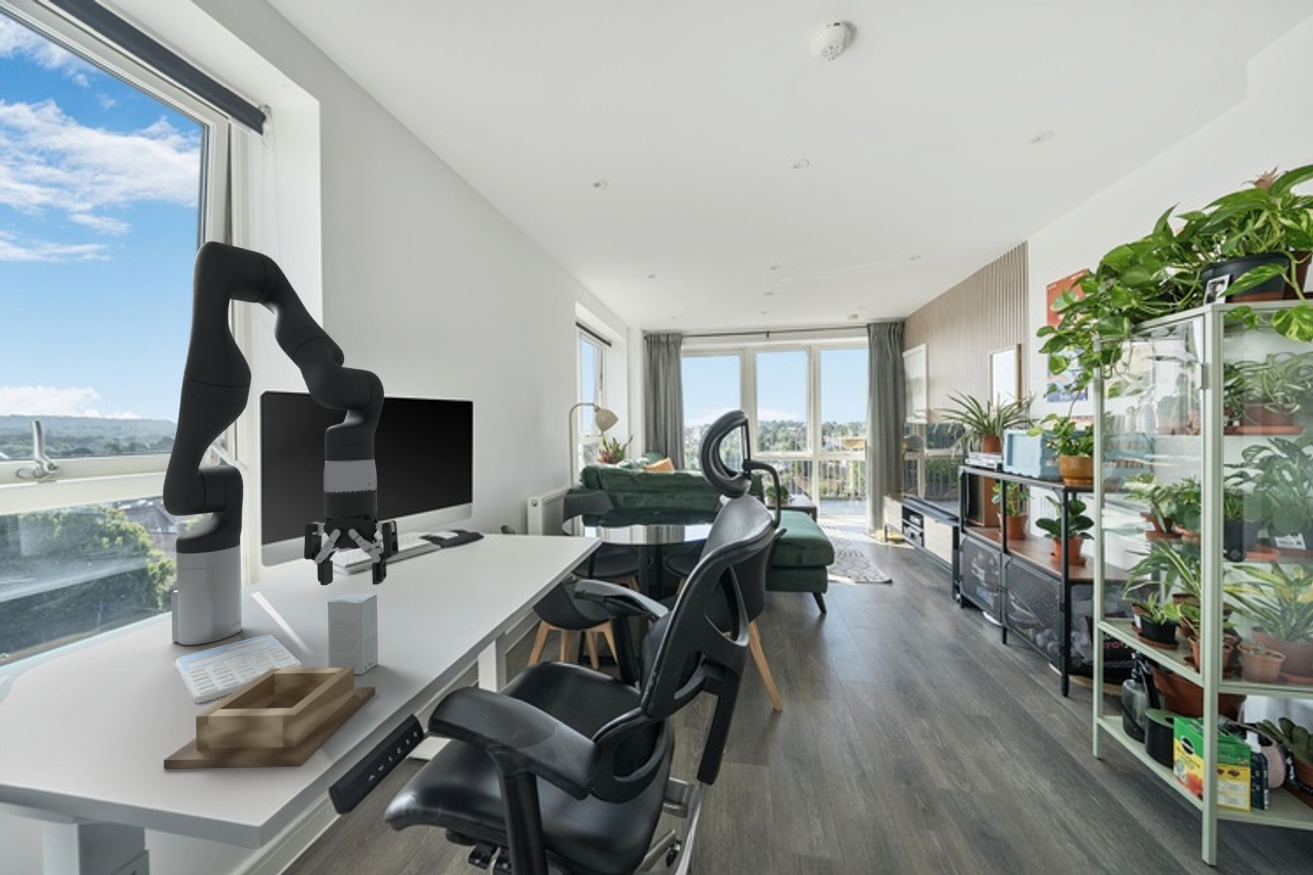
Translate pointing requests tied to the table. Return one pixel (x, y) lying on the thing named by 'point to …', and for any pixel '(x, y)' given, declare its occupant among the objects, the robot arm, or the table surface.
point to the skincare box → (353, 632)
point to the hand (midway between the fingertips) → (352, 583)
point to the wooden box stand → (273, 719)
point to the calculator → (231, 666)
